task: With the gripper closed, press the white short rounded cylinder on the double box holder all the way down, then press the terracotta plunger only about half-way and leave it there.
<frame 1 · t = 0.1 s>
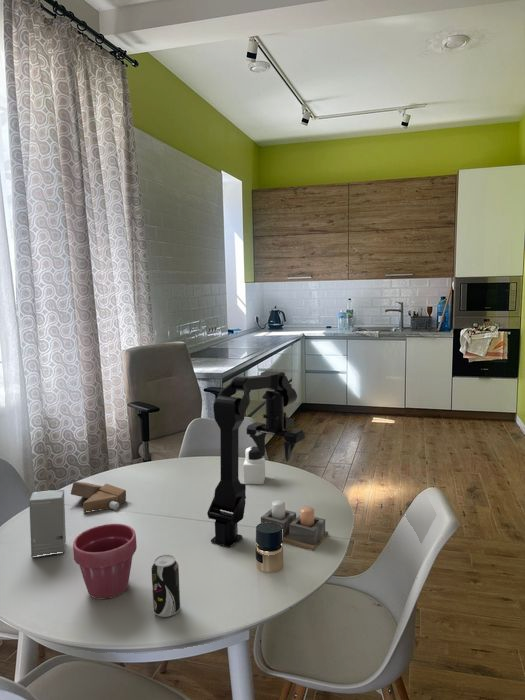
hand: (275, 458, 166), 14 cm above the table, fingers open, 9 cm apart
medicine bottle: (254, 481, 186), on the table
white short rounded cylinder: (278, 511, 147), point 6 cm above the table, slide at 0.0 cm
plant pot: (108, 588, 123), on the table
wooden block: (96, 506, 168), on the table
terracotta plunger: (307, 518, 143), point 6 cm above the table, slide at 0.0 cm
beverage can: (167, 611, 114), on the table
double box holder: (292, 535, 146), on the table
skincare box: (50, 550, 141), on the table
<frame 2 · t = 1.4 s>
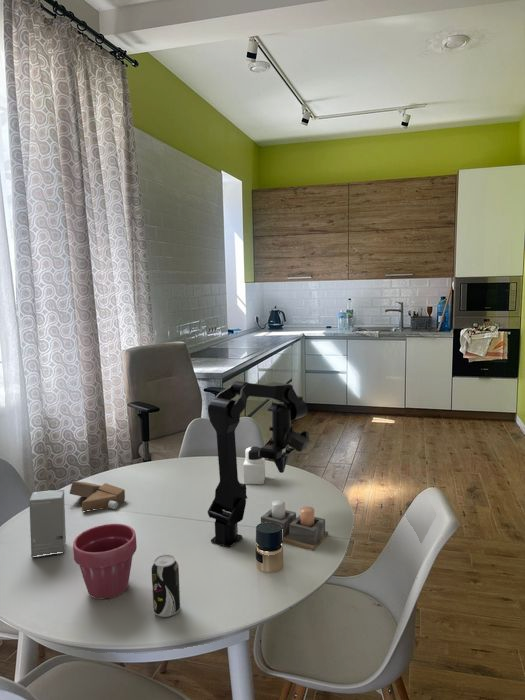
hand: (281, 472, 162), 12 cm above the table, fingers closed
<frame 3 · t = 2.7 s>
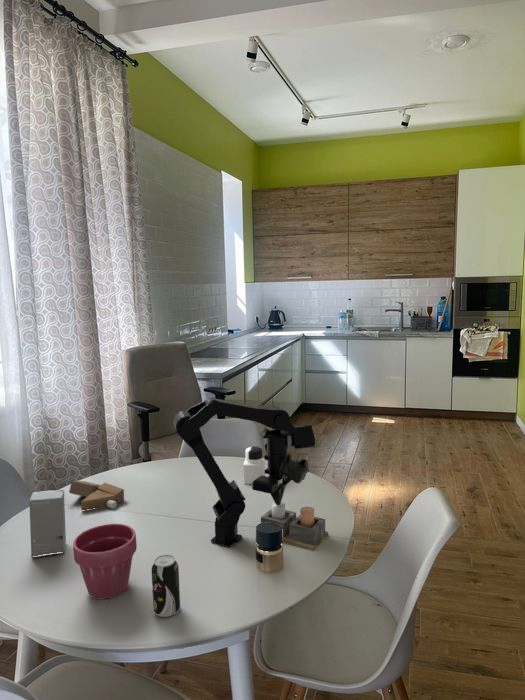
hand: (278, 504, 147), 8 cm above the table, fingers closed, pressing on white short rounded cylinder
white short rounded cylinder: (278, 512, 148), point 6 cm above the table, slide at 0.4 cm, touching gripper
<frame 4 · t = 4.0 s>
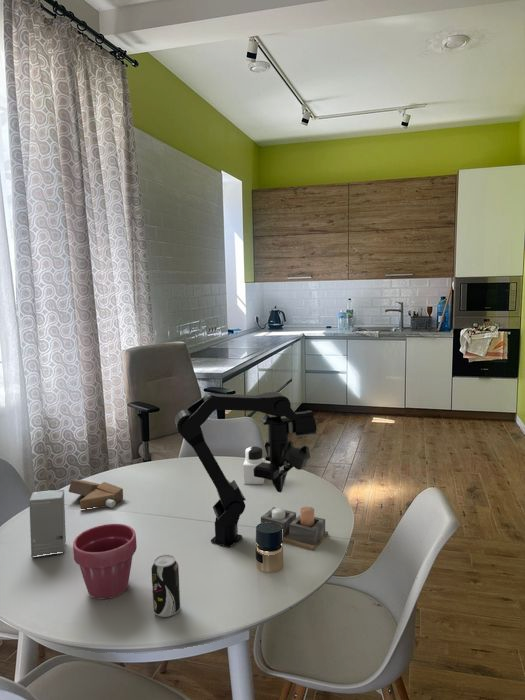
hand: (279, 491, 146), 12 cm above the table, fingers closed
white short rounded cylinder: (278, 519, 148), point 4 cm above the table, slide at 2.3 cm
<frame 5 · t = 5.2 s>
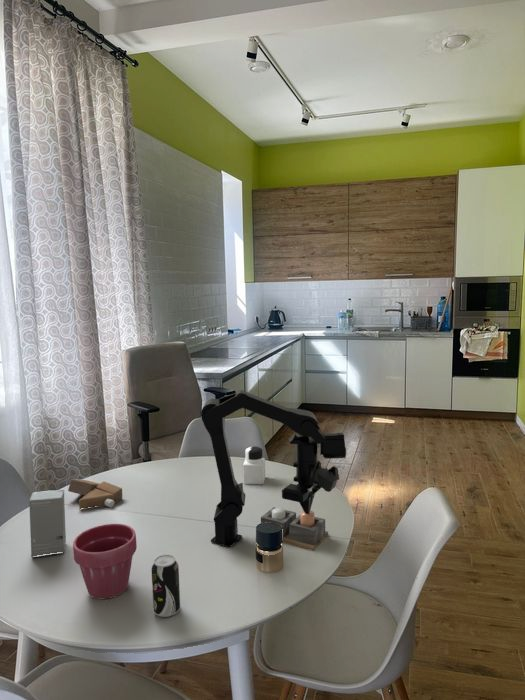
hand: (307, 513, 143), 8 cm above the table, fingers closed, pressing on terracotta plunger
terracotta plunger: (307, 521, 143), point 5 cm above the table, slide at 1.0 cm, touching gripper
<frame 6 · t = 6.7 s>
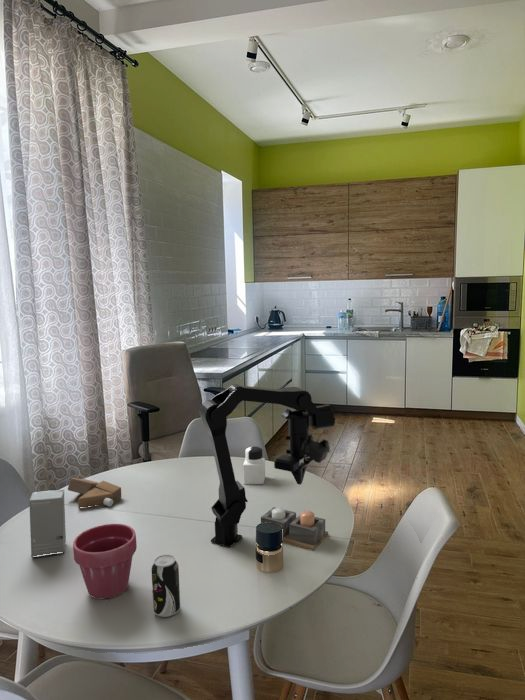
hand: (299, 483, 151), 12 cm above the table, fingers closed
terracotta plunger: (307, 522, 143), point 5 cm above the table, slide at 1.2 cm
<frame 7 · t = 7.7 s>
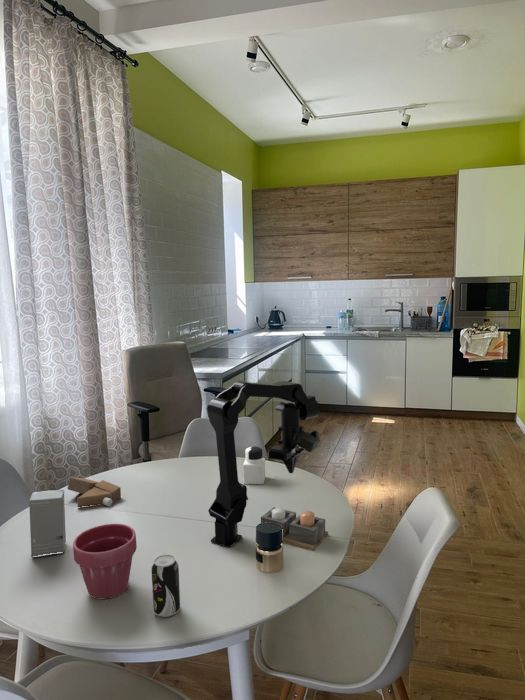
hand: (291, 472, 159), 12 cm above the table, fingers closed
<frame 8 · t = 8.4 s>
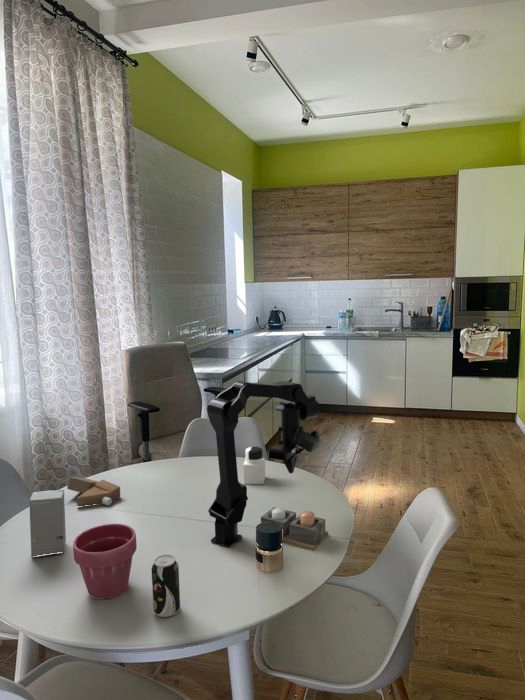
hand: (291, 472, 159), 12 cm above the table, fingers closed
at the end: white short rounded cylinder slide at 2.3 cm; terracotta plunger slide at 1.2 cm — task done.
